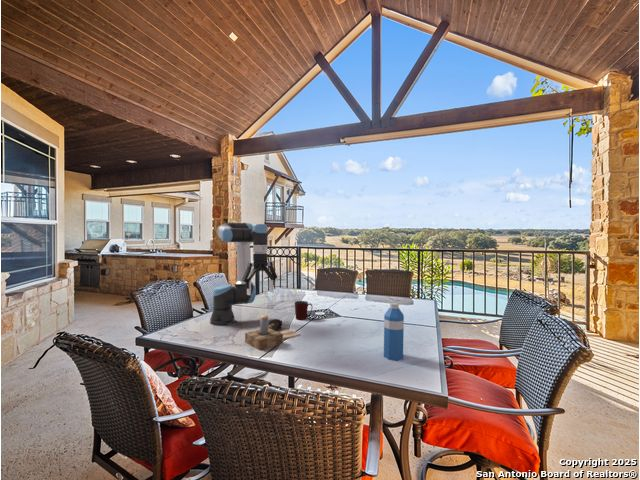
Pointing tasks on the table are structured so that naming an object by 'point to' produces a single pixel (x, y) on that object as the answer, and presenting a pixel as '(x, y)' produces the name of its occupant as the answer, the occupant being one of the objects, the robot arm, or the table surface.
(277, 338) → the socket block
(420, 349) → the table surface
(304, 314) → the mug
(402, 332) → the water bottle
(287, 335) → the light brown wooden board
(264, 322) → the plug
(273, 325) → the brown lumpy club
